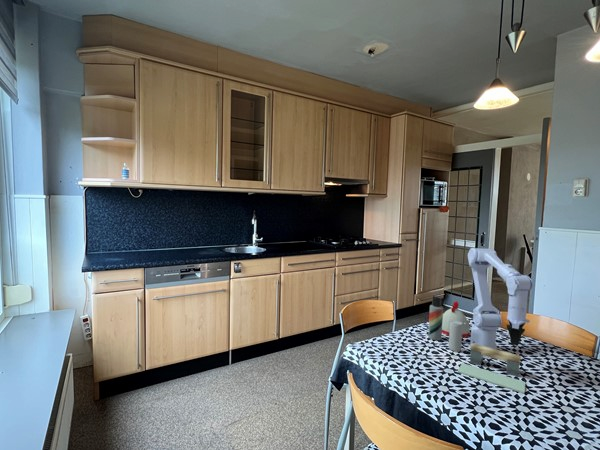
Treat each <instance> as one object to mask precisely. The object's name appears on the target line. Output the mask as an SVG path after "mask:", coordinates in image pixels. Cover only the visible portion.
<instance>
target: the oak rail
mask: <svg viewBox="0 0 600 450" xmlns="http://www.w3.org/2000/svg"><path fill="white" fill-rule="evenodd" d="M471 349H472V350H475V351H479V352H481V355H483V356H484V357H488V358H492V359H494V360H499V361H502V362H506V363H507V359H508V360H512V361H516V362H519V366H521V359H522V358H521V356H522V355H519V354H514V353H511V352H508V351H503V350H499V349H492V348H489V347H485V346H481V345H477V344H473V343H472V345H471V346H470V350H471Z"/></svg>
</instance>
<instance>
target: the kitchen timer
mask: <svg viewBox="0 0 600 450" xmlns="http://www.w3.org/2000/svg"><path fill="white" fill-rule="evenodd" d="M451 321H459V322H461V323H462V325H463V328H462V338H468V337H469V336H470V334H471V330H470V320H469V319H467V317H466V316H465V314H464V313H463V312H462V311H461V309H459V302H458V300H457V301H456V300H455V301H454V302H453V305H452V307H451V308H449V309H447V310H446V311H444V312H443V320H442V335H443V334H444V335H446V336H449V333H450V322H451Z"/></svg>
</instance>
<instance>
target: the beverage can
mask: <svg viewBox="0 0 600 450" xmlns="http://www.w3.org/2000/svg"><path fill="white" fill-rule="evenodd" d="M462 328H463V325H462V323H461V322H459V321H451V322H450V333H449V335H448V336H449V337H448V350H450V351H452V352H455V353H459V352H461V351H462V343H463V342H462V340H463V339H462V338H463V337H462Z"/></svg>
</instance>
